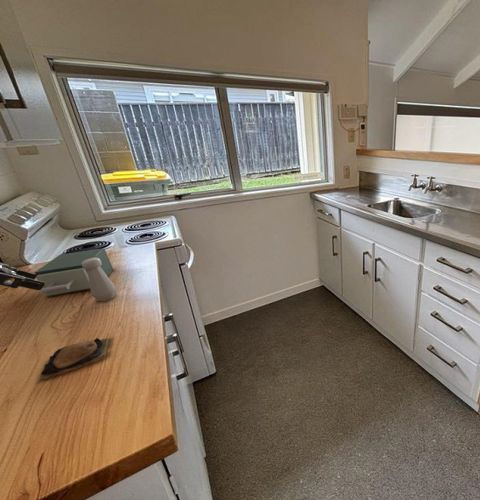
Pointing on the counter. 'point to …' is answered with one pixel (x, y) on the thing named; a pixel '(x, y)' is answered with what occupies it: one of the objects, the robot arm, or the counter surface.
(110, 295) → the salt shaker
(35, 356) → the counter surface
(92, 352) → the brown and black piece
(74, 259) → the cabinet
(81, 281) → the drawer
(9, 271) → the robot arm
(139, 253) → the counter surface
